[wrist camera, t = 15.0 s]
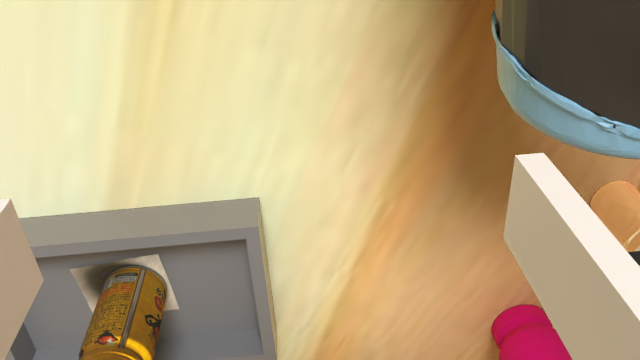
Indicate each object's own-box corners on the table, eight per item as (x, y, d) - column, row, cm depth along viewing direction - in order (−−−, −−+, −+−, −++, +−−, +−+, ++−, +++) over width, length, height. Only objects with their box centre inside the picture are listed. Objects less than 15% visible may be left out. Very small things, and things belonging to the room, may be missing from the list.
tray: (258, 197, 53) (258, 226, 49) (276, 328, 62) (276, 361, 58) (-29, 222, 52) (-53, 254, 48) (31, 352, 61) (15, 387, 57)
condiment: (180, 307, 58) (161, 410, 48) (97, 321, 58) (61, 427, 48) (158, 252, 54) (132, 351, 44) (70, 266, 54) (24, 369, 44)
